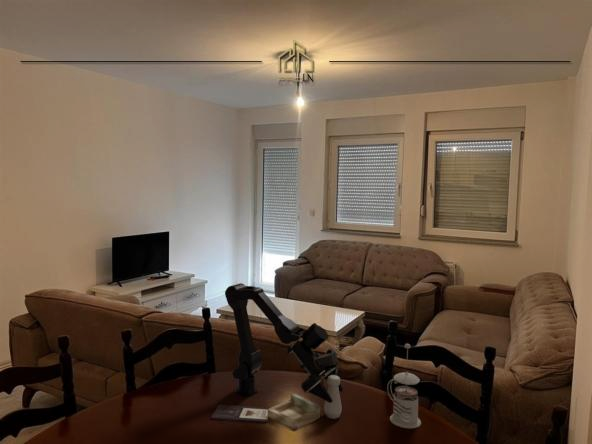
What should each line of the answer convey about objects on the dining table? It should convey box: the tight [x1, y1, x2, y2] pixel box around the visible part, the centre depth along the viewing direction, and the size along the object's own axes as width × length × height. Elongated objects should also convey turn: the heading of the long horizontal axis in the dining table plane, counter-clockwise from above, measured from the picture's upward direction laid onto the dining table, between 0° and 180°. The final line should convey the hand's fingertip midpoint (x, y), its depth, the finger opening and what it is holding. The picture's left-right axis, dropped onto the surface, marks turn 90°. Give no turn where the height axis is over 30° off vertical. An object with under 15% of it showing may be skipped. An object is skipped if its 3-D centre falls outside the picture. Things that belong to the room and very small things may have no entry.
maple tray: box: [268, 393, 321, 432], centre depth 138 cm, size 12×12×4 cm
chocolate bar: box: [210, 403, 270, 424], centre depth 140 cm, size 9×1×18 cm
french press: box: [386, 343, 422, 429], centre depth 138 cm, size 10×12×25 cm
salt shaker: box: [323, 375, 342, 420], centre depth 139 cm, size 6×6×13 cm
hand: (337, 396), depth 139 cm, fingers open, 9 cm apart
